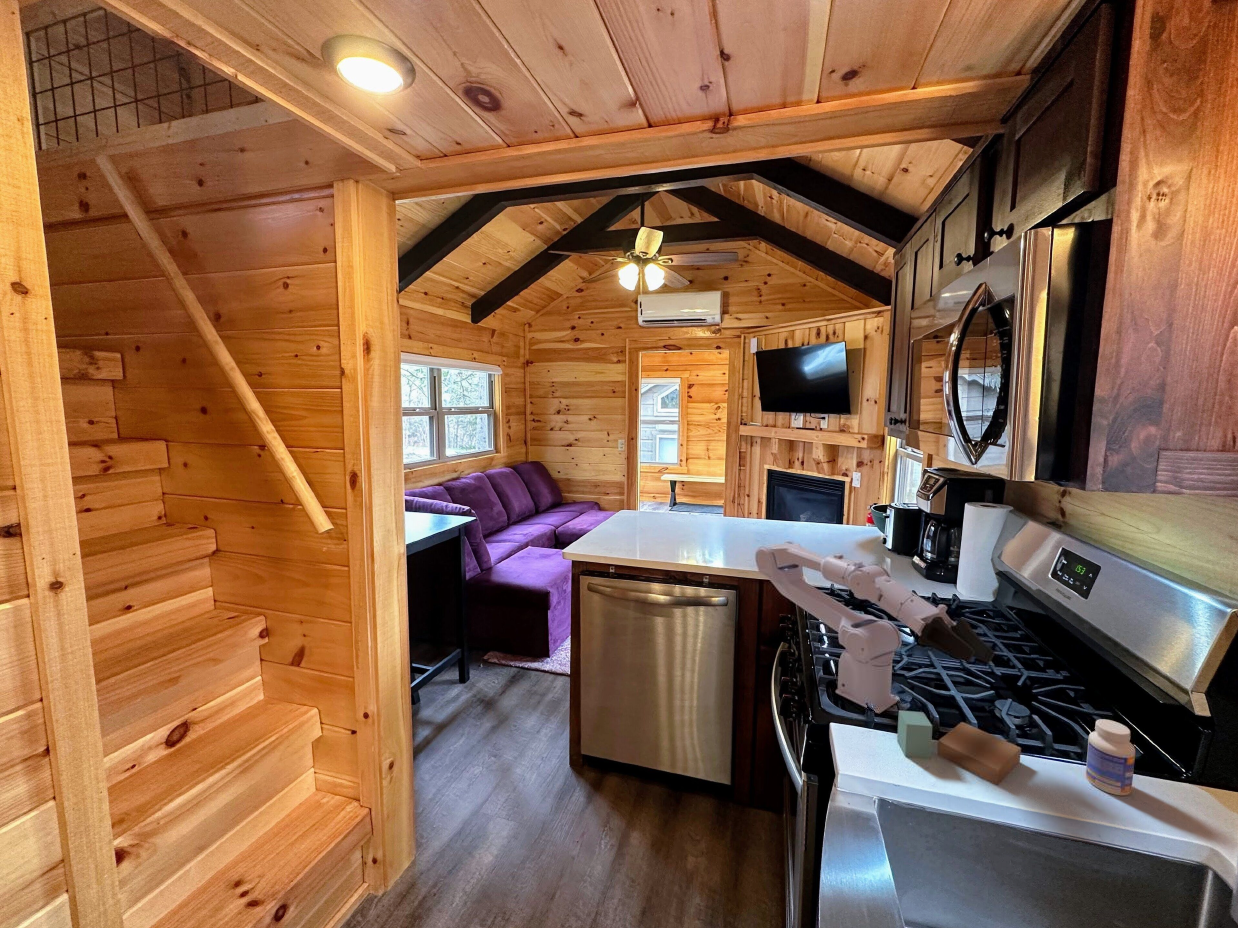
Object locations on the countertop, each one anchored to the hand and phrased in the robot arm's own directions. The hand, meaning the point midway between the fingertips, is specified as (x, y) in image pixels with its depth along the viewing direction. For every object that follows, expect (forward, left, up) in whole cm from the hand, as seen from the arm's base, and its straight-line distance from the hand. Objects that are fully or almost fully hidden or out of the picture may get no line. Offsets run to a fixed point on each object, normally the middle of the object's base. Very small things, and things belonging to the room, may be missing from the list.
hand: (981, 657), depth 89 cm
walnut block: (0, 0, -18) cm, 18 cm away
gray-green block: (-7, -6, -18) cm, 20 cm away
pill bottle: (+15, +10, -18) cm, 25 cm away
